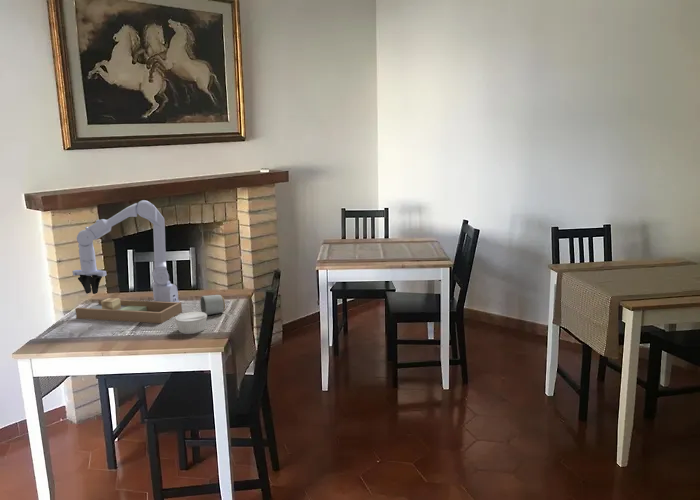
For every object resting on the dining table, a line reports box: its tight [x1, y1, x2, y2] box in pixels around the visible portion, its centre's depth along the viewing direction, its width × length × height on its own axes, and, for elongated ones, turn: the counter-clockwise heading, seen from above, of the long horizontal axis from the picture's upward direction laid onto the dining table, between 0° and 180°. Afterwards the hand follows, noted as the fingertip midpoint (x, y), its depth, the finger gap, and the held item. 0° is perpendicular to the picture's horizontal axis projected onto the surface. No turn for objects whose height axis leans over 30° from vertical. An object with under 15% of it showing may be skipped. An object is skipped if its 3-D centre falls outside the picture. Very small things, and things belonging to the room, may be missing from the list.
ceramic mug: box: [199, 294, 226, 316], centre depth 230 cm, size 11×8×8 cm
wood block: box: [101, 297, 121, 310], centre depth 232 cm, size 5×5×4 cm
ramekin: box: [174, 311, 208, 335], centre depth 210 cm, size 11×11×5 cm
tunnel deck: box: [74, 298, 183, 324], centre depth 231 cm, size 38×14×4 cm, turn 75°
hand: (91, 293), depth 234 cm, fingers open, 3 cm apart
